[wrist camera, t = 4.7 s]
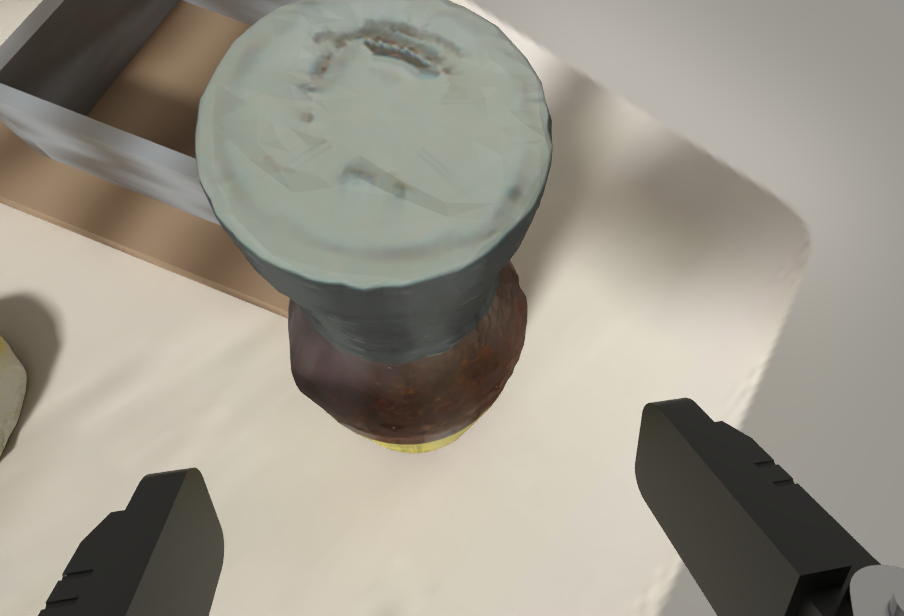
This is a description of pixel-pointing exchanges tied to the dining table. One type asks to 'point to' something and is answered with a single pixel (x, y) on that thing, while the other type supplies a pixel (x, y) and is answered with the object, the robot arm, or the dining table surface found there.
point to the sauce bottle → (383, 202)
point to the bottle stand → (124, 129)
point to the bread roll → (10, 391)
